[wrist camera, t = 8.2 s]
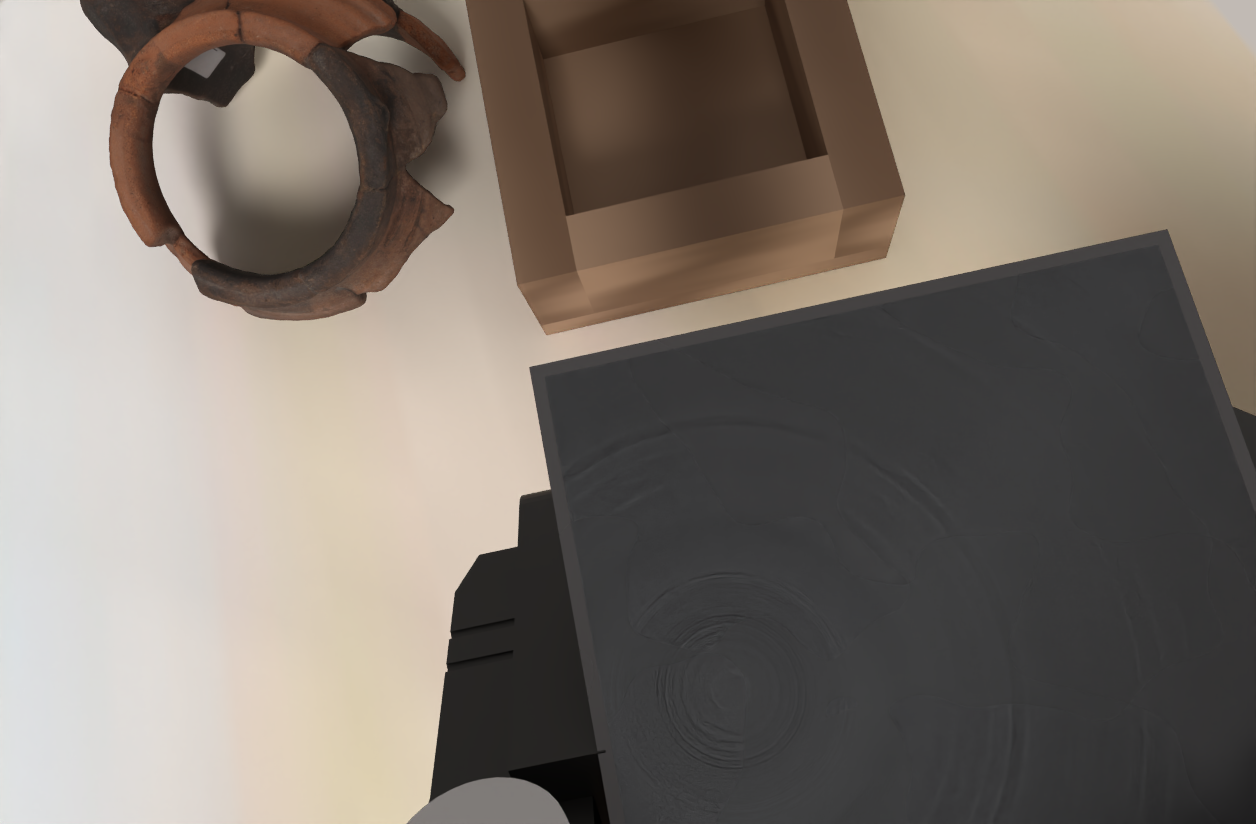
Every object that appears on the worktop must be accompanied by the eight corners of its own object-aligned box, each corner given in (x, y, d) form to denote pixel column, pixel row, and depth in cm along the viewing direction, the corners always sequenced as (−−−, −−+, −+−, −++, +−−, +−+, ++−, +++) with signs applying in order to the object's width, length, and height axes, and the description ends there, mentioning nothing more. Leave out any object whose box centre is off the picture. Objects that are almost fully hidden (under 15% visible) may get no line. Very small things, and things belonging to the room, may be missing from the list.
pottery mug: (565, 98, 32) (488, 94, 24) (419, 349, 35) (309, 418, 27) (232, -126, 32) (45, -203, 24) (114, 146, 35) (-87, 157, 27)
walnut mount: (546, 335, 29) (517, 285, 26) (491, 44, 32) (458, -39, 28) (885, 257, 29) (905, 195, 25) (802, -33, 31) (808, -127, 28)
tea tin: (695, 870, 14) (655, 1080, 7) (628, 527, 16) (529, 366, 8) (1046, 801, 14) (1424, 934, 6) (948, 459, 15) (1167, 229, 8)
